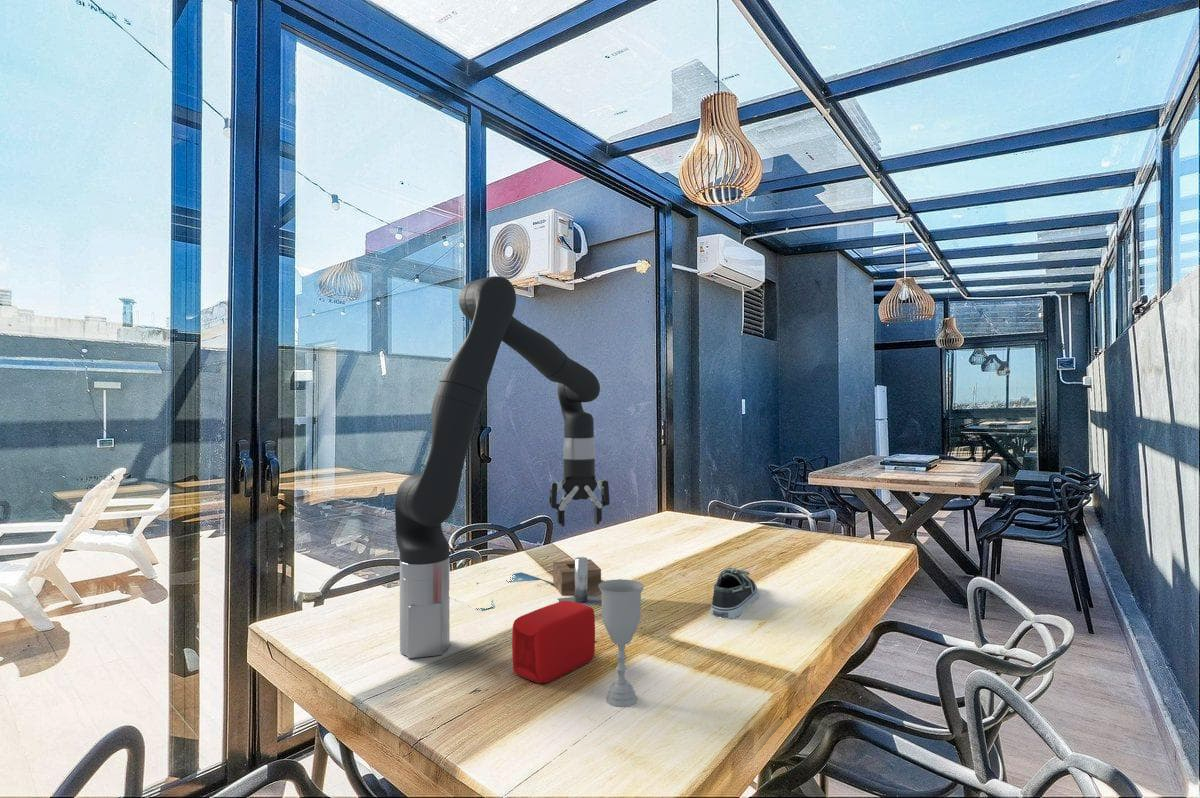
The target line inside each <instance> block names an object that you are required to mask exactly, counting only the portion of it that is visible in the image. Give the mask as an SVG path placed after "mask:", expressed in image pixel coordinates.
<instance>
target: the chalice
mask: <svg viewBox="0 0 1200 798" xmlns="http://www.w3.org/2000/svg"><path fill="white" fill-rule="evenodd" d="M598 586H599V588H600V590H601V592H600V593H601V599H602V604H601V618H602V622H603V625H604V626H605V627H604V628H605V630H606V631H607V633H608V635H609V638H610V640H611V642H612V643H613V644H615V645H617V648H618V651H617V654H616V656H615V657H616V659H617V662H618V664H617V666H616V667H615V669H616V671H617V674H618V678H617V680H616V681H614V682H612V684H611V685H610V686H609V690H608V692H607V695H606V697H605V701H606V703H607V704H609V705H610V706H613V707H618V708H627V707H630V706H634V705H635V704H637V702H638V696H637V695H636V691H635V689H634V687H633V685H632V684H631V683H630V682H629V681H627V680H626V678H625V675H626V671H628V667H627V666H626V664H625V662H626V659H627V655H626V653H625V652H626V651H625V647H626V645H629V644H630V643H631V641H632V639H633V637H634V635H635V633H636V632H637V629H638V626H639V623H640V620H641V617H642V607H641V606H642V600H641V599H642V595H641V594H642V592H643V590H644V587H645V584H643V583H642V582H640V581H636V580H634V579H621V578H618V579H609V580H605V581H601V583H600V584H599V585H598Z"/></svg>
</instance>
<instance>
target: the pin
mask: <svg viewBox="0 0 1200 798" xmlns="http://www.w3.org/2000/svg"><path fill="white" fill-rule="evenodd" d="M587 559H588V558H587V557H584V556H581V557H580V556H579V557H575V558H574V561H575V594H574V597H575V602H576V603H586V602H587V601H588V596H589V595H588V594H589V593H588V571H587Z"/></svg>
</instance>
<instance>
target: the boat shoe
mask: <svg viewBox="0 0 1200 798" xmlns="http://www.w3.org/2000/svg"><path fill="white" fill-rule="evenodd" d="M750 574H751V573H750V571H747V570H745V569H739V568H738V569H737V567H731V566H726V567H725V568H724V569H722V570H721V571H720V572H719V573H718V575H717V579H716V582H715V583H714V584H713V586H712V587H713V594H712V601H711V604H710V614H712V615H714V616H716V617H715V618H717V617H721V618H733V619H735V618H734V617H736V618H738V617H740V616H741V615H742V614H743V613H742V612H744V611H745V610H746V609H745V608H746V607H747V606H748V605H749V604H751V603H753V602H754V601H755V602H756V601H757V600H758V598H759V590H758V586H757V584H756V583H755V581H754V580H753V579H752V578H750V577H749V575H750ZM756 599H757V600H756ZM755 602H754V603H755ZM754 603H753V604H754ZM751 605H752V604H751ZM749 606H750V605H749ZM749 606H748V607H749ZM748 607H747V608H748ZM744 609H745V610H744ZM743 610H744V611H743ZM741 613H742V614H741ZM740 614H741V615H740ZM712 615H711V616H712ZM739 615H740V616H739ZM714 616H713V617H714ZM737 616H738V617H737ZM721 618H720V619H721Z"/></svg>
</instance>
